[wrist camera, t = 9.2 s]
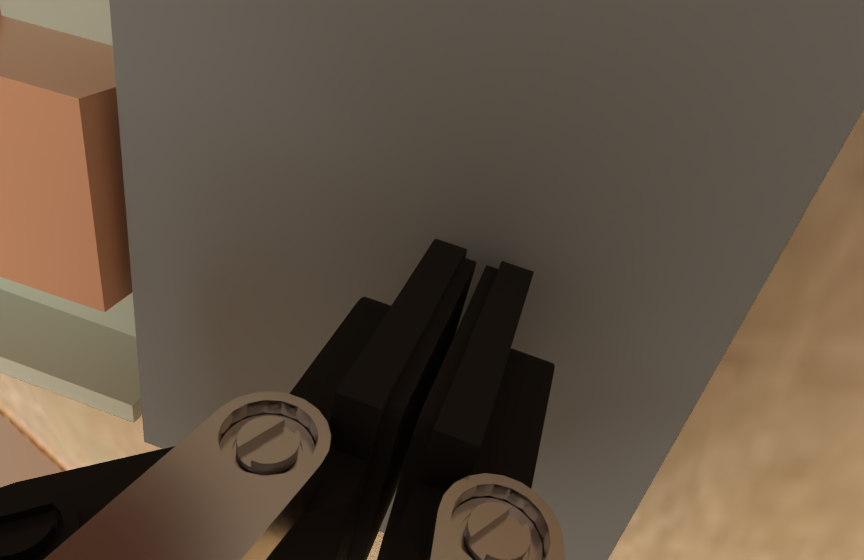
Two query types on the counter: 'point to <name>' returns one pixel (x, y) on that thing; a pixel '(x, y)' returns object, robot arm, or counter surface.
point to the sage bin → (60, 318)
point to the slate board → (475, 194)
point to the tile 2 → (61, 167)
